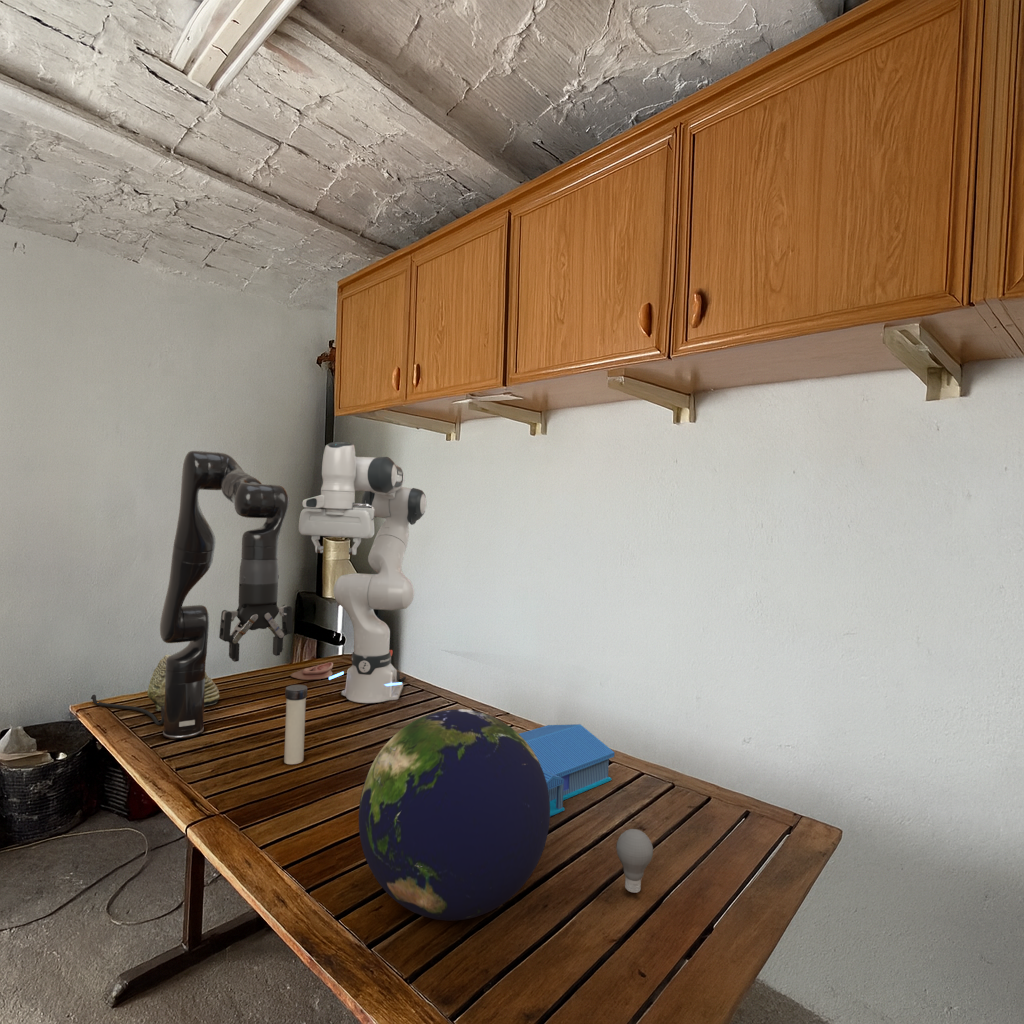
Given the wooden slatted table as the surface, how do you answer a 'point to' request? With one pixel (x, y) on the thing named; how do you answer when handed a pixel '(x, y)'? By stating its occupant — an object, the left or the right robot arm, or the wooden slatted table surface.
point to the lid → (296, 692)
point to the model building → (569, 760)
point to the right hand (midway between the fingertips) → (335, 553)
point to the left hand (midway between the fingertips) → (256, 657)
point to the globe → (454, 815)
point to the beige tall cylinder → (294, 731)
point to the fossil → (158, 687)
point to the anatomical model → (314, 672)
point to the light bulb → (634, 857)
